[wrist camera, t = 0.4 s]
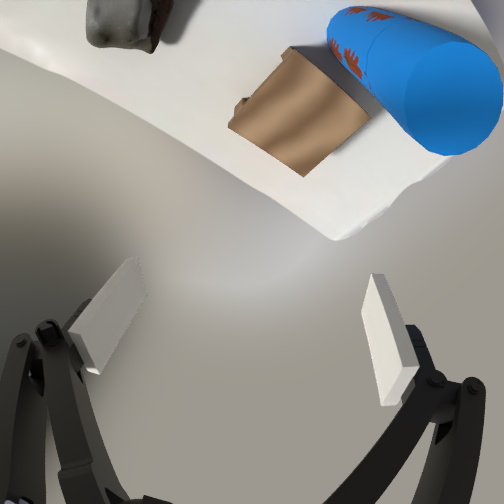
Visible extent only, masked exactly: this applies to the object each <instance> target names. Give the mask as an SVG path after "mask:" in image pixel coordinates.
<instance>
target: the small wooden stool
mask: <svg viewBox="0 0 504 504" xmlns="http://www.w3.org/2000/svg"><path fill="white" fill-rule="evenodd" d="M281 57H282V59H283V61H282V63H281V64H280V65H279V66H278V67H277V68H276V69H275V70H274V71H273V72H272V73H271V74H270V75H269V76H268V78H267V79H266V80H265V81H264V82H263V83H262V84H261V85H260V86H259V88H258V89H257V90H256V91H255V92H254V93H253V94H252V96H251V97H250V98H249V99H248V100H247V101H246V100H245V99H243V98H242V99H241V101H240V102H239V103H238V104H237V105H236V107H235V110H234V117H233V118H232V119H231V120H230V121H229V123H228V128H229V129H231V130H233V131H234V132H236V133H237V134H239V135H241V136H242V137H244V138H245V139H247V140H248V141H250V142H252V143H253V144H255V145H256V146H258V147H259V148H261V149H262V150H264V151H265V152H267V153H268V154H270V155H272V156H273V157H275V158H276V159H277V160H279V161H280V162H282V163H283V164H285V165H286V166H288V167H289V168H291V169H292V170H294V171H295V172H296V173H298V174H299V175H301V176H302V177H305V176H306V175H307V174H308V173H309V172H310V171H311V170H312V169H313V168H315V167H316V166H317V165H318V164H319V163H320V162H321V161H322V160H324V159H325V158H326V157H327V156H328V155H329V154H330V153H331V152H332V151H334V150H335V149H336V148H337V147H338V146H339V145H340V144H341V143H343V142H344V141H345V140H346V139H347V138H348V137H349V136H351V135H352V134H353V133H354V132H355V131H356V130H357V129H358V128H360V127H361V126H362V125H363V124H364V123H365V122H366V121H368V120H369V119H370V118H371V117H370V116H369V115H368V114H367V112H366V111H365V110H364V109H363V108H362V107H361V106H360V105H359V104H357V103H356V102H355V101H354V100H353V99H352V98H351V97H350V96H349V95H348V94H347V93H346V92H345V91H344V90H343V89H342V88H341V87H339V86H338V85H337V84H336V83H335V82H334V81H333V80H332V79H331V78H329V77H328V76H327V75H326V74H325V73H324V72H323V71H321V70H320V69H319V68H318V67H317V66H315V65H314V64H313V63H312V62H311V61H309V60H308V59H307V58H306V57H304V56H303V55H302V54H301V53H299V52H298V51H297V50H295V49H293V48H291V47H289V48H288V49H287V50H286V51H285V52H284V53H283V54H282V55H281Z"/></svg>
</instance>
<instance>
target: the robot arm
mask: <svg viewBox="0 0 504 504" xmlns="http://www.w3.org/2000/svg"><path fill="white" fill-rule="evenodd" d="M146 297H147V293H146V289H145V284H144V279H143V274H142V270H141V265H140V260H139V258H134V257H133V258H132V257H128V258H127V259H126V260H125V261H124V262H123V263H122V265H121V266H120V267H119V268H118V269H117V271H116V272H115V273H114V274H113V275H112V276H111V278H110V279H109V280H108V281H107V282H106V284H105V285H104V286H103V287H102V288H101V290H100V291H99V292H98V293H97V294H96V296H95V297H94V298H93V299H88V300H86V301H85V302H83V303H82V304H81V305H80V306H79V308H78V309H77V311H75V312H74V314H73V316H71V318H70V319H69V320H68V321H67V323H66V324H65V325H64V327H63V328H62V329H60V327H59V325H58V323H57V321H55V320H52V319H49V320H45V321H43V322H41V323H40V324H39V325H38V326H37V327H36V330H35V333H36V335H37V337H38V339H39V341H33V340H32V339H31V337H30V335H29V334H27V333H22V334H19V335H17V336H16V337H15V338H14V339H13V340H12V342H11V345H10V348H9V352H8V355H7V358H6V362H5V366H4V369H3V373H2V377H1V381H0V504H46V484H45V437H46V419H47V407H48V409H49V415H50V421H51V426H52V431H53V435H54V440H55V445H56V449H57V453H58V457H59V461H60V465H61V470H60V471H59V472H58V479H59V483H60V486H61V489H62V493H63V495H64V499H65V502H66V504H172V503H170V502H167V501H163V500H159V499H156V498H153V497H149V496H146V495H144V496H143V499H132V500H130V498H129V496H128V495H127V493H126V492H125V490H124V489H123V488H122V486H121V484H120V483H119V480H118V478H117V476H116V474H115V471H114V469H113V466H112V464H111V461H110V459H109V456H108V454H107V451H106V449H105V446H104V443H103V440H102V437H101V434H100V431H99V428H98V425H97V422H96V419H95V416H94V413H93V409H92V406H91V402H90V399H89V395H88V391H87V388H86V384H85V380H84V376H83V373H82V371H81V367H82V365H83V364H84V365H85V366H86V368H87V370H88V371H90V372H93V373H96V374H101V372H102V370H103V369H104V367H105V365H106V363H107V361H108V360H109V358H110V356H111V355H112V353H113V351H114V349H115V348H116V346H117V344H118V343H119V341H120V339H121V338H122V336H123V334H124V333H125V331H126V329H127V328H128V326H129V324H130V322H131V321H132V319H133V318H134V316H135V315H136V313H137V311H138V310H139V308H140V306H141V305H142V303H143V302H144V300H145V299H146ZM361 314H362V318H363V322H364V326H365V331H366V335H367V338H368V343H369V348H370V352H371V357H372V361H373V366H374V371H375V376H376V381H377V385H378V391H379V396H380V402H381V406H388V405H397V403H398V402H399V400H400V398H401V399H402V403H403V405H402V407H401V408H400V410H399V411H398V413H397V414H396V416H395V418H394V419H393V420H392V422H391V423H390V425H389V426H388V427H387V429H386V430H385V431H384V433H383V434H382V436H381V437H380V438H379V440H378V441H377V442H376V443H375V445H374V446H373V447H372V449H371V450H370V451H369V452H368V454H367V455H366V456H365V457H364V459H363V460H362V461H361V462H360V463H359V465H358V466H357V467H356V468H355V469H354V470H353V472H352V473H351V474H350V475H349V476H348V477H347V478H346V480H345V481H344V482H343V483H342V484H341V485H340V486H339V487H338V488H337V489H336V490H335V492H333V493H332V495H331V496H330V497H329V498H328V499H327V500H326V501H325V502H324V503H323V504H375V502H376V501H377V500H378V499H379V498H380V496H381V495H382V494H383V492H384V491H385V490H386V489H387V487H388V486H389V485H390V483H391V482H392V480H393V479H394V478H395V476H396V475H397V473H398V472H399V470H400V469H401V467H402V466H403V465H404V463H405V461H406V460H407V459H408V457H409V455H410V454H411V452H412V450H413V449H414V447H415V446H416V444H417V442H418V441H419V439H420V437H421V436H422V434H423V432H424V430H425V429H426V426H427V425H428V423H429V422H432V423H436V425H435V429H434V433H433V437H432V441H431V445H430V449H429V452H428V456H427V459H426V463H425V466H424V469H423V472H422V476H421V478H420V481H419V484H418V487H417V490H416V492H415V495H414V498H413V500H412V503H411V504H469V503H470V498H471V495H472V491H473V486H474V481H475V477H476V473H477V467H478V462H479V456H480V449H481V442H482V434H483V426H484V415H485V399H486V398H485V397H486V389H485V386H484V384H483V383H482V382H481V381H480V380H479V379H477V378H475V377H469V378H466V379H465V380H464V381H463V383H462V384H461V383H456V382H451V381H448V380H447V379H446V377H445V376H444V374H443V373H441V372H440V371H438V370H436V369H435V366H434V364H433V361H432V359H431V356H430V353H429V351H428V348H427V346H426V343H425V341H424V338H423V336H422V334H421V331H420V330H419V329H418V328H417V327H416V326H415V325H405V324H404V321H403V319H402V316H401V314H400V311H399V309H398V306H397V304H396V302H395V299H394V296H393V294H392V292H391V289H390V287H389V285H388V282H387V280H386V278H385V276H384V274H371V277H370V280H369V285H368V288H367V292H366V296H365V300H364V304H363V307H362V311H361Z"/></svg>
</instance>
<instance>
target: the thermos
mask: <svg viewBox="0 0 504 504" xmlns="http://www.w3.org/2000/svg"><path fill="white" fill-rule="evenodd" d="M327 42H328V44H329V47H330V50H331V51H332V53H333V54H334V55H335V56H336V57H337V59H338V60H339V61H340V62H341V63H342V65H343V66H344V67H345V68H346V69H347V70H348V71H349V72H350V73H351V74H352V75H353V76H354V77H355V78H356V79H358V80H359V81H360V82H361V83H362V84H363V85H364V86H365V87H366V88H367V90H368V91H369V92H370V93H371V94H372V95H373V96H374V97H375V98H376V99H377V100H378V101H379V102H380V103H381V104H382V105H383V106H384V108H385V109H386V110H387V111H388V112H389V113H390V114H391V115H392V117H393V118H394V119H395V120H396V121H397V122H398V123H399V125H400V126H401V127H402V128H403V129H404V131H405V132H406V133H408V134H409V135H410V136H411V137H412V138H413V139H415V140H416V141H417V142H418V143H419V144H421V145H422V146H423V147H424V148H426V149H427V150H428V151H430V152H433V153H437V154H440V155H443V156H448V155H460V154H463V153H465V152H467V151H469V150H472V149H474V148H476V147H477V146H478V145H479V144H481V143H482V142H483V141H484V140H485V139H486V138H487V137H488V136H489V135H490V133H491V132H492V130H493V129H494V127H495V126H496V124H497V122H498V120H499V116H500V113H501V110H502V106H503V84H502V81H501V78H500V75H499V72H498V69H497V67H496V66H495V64H494V63H493V62H492V60H491V59H490V58H489V56H488V55H487V54H486V53H485V52H484V51H482V50H481V49H480V48H478V47H477V46H475V45H474V44H472V43H470V42H469V41H467V40H465V39H464V38H462V37H460V36H458V35H456V34H454V33H451V32H449V31H446V30H444V29H441V28H438V27H436V26H433V25H430V24H428V23H425V22H422V21H419V20H416V19H413V18H410V17H406V16H403V15H400V14H396V13H393V12H389V11H385V10H381V9H377V8H373V7H364V6H354V7H348V8H345V9H343V10H341V11H339V12H338V13H337V14H336V15H335V16H334V17H333V18H332V19H331V21H330V23H329V26H328V28H327Z"/></svg>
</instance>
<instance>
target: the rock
mask: <svg viewBox="0 0 504 504" xmlns="http://www.w3.org/2000/svg"><path fill="white" fill-rule="evenodd" d="M172 7H173V0H88V2H87V10H86V36H87V40H88V42H89V43H90V44H91V45H93V46H95V47H98V48H108V47H116V48H123V49H139V50H143V51H145V52H146V53H149V54H152V53H153V52H154V51H155V49H156V47H157V45H158V43H159V39H160V36H161V33H162V31H163V29H164V26H165V24H166V21H167V19H168V16H169V14H170V12H171V10H172Z"/></svg>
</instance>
